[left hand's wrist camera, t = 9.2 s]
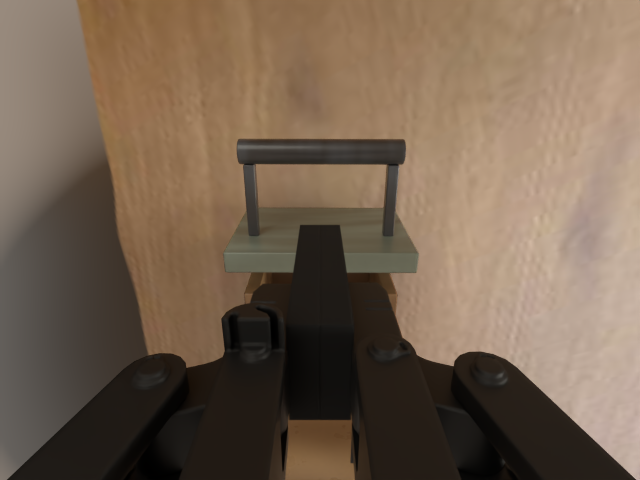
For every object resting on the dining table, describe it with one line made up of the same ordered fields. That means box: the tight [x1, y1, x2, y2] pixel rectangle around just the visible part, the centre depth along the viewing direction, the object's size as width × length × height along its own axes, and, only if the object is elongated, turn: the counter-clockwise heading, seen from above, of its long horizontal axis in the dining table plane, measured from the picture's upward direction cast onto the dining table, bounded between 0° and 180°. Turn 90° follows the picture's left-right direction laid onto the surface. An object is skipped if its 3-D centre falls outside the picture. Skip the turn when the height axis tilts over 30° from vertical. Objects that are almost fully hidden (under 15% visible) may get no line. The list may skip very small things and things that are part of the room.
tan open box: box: [285, 315, 401, 480], centre depth 31 cm, size 19×12×10 cm, turn 0°
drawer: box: [223, 139, 419, 315], centre depth 26 cm, size 23×10×8 cm, turn 0°
